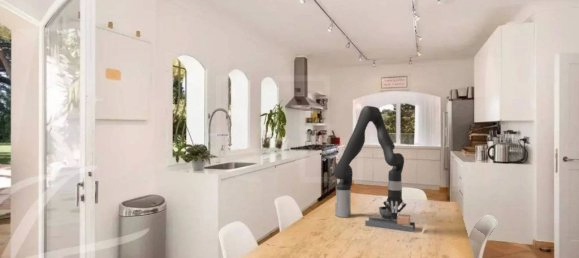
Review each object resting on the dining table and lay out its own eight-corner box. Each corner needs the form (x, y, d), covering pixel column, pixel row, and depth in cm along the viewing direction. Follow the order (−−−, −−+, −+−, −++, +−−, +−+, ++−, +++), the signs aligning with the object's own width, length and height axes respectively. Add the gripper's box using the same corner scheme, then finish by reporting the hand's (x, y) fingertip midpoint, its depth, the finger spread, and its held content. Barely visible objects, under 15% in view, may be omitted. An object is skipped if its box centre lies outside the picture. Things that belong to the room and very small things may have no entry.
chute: (365, 227, 198) (365, 220, 198) (369, 223, 206) (369, 216, 206) (412, 233, 186) (412, 226, 186) (414, 229, 194) (415, 222, 194)
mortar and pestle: (389, 222, 208) (389, 202, 208) (376, 219, 215) (376, 200, 215) (398, 218, 216) (399, 199, 216) (385, 216, 222) (385, 197, 222)
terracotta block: (397, 229, 191) (397, 216, 191) (399, 226, 197) (399, 214, 196) (408, 230, 188) (408, 218, 188) (410, 227, 194) (410, 215, 194)
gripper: (381, 188, 194) (381, 219, 194) (406, 190, 188) (405, 222, 188) (384, 186, 201) (384, 216, 201) (408, 188, 195) (407, 219, 195)
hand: (394, 219), depth 195 cm, fingers closed
